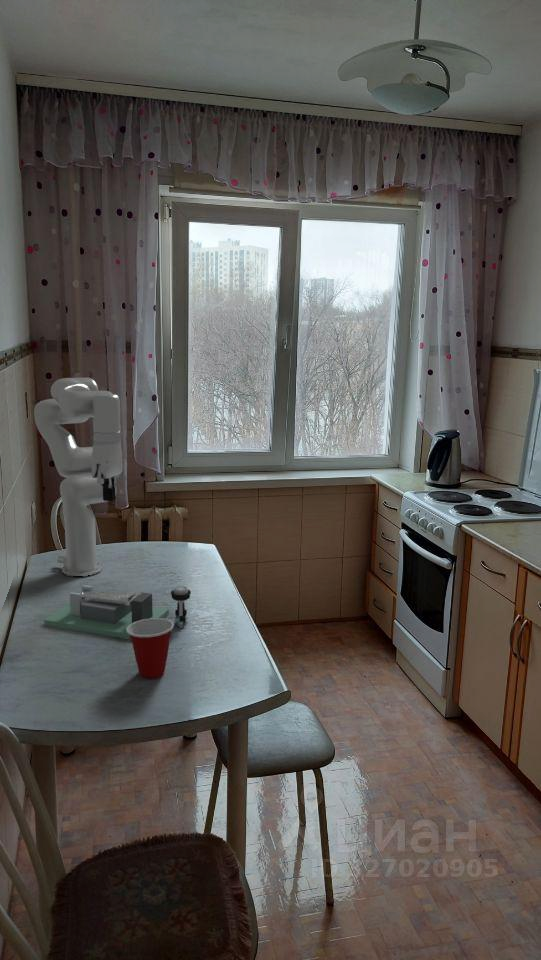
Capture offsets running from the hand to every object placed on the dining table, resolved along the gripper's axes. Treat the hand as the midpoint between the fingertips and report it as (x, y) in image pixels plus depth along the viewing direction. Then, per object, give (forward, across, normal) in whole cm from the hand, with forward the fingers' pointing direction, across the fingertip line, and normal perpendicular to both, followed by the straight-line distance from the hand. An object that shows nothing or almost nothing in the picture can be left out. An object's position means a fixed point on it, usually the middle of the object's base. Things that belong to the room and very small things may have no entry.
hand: (109, 500), depth 203 cm
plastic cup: (+29, +39, +33) cm, 59 cm away
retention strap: (+23, +16, +8) cm, 29 cm away
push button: (+29, +12, +28) cm, 42 cm away
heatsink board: (+29, +16, +8) cm, 34 cm away
